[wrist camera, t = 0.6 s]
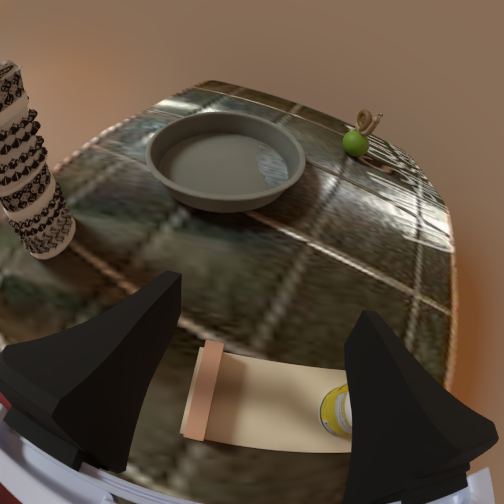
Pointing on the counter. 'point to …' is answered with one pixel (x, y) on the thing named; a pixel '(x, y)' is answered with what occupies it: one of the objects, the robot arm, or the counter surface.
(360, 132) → the snail figurine
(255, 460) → the counter surface
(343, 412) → the supplement bottle
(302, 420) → the strip
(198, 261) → the counter surface
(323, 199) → the counter surface
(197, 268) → the counter surface
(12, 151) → the decorative candle
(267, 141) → the cake pan
